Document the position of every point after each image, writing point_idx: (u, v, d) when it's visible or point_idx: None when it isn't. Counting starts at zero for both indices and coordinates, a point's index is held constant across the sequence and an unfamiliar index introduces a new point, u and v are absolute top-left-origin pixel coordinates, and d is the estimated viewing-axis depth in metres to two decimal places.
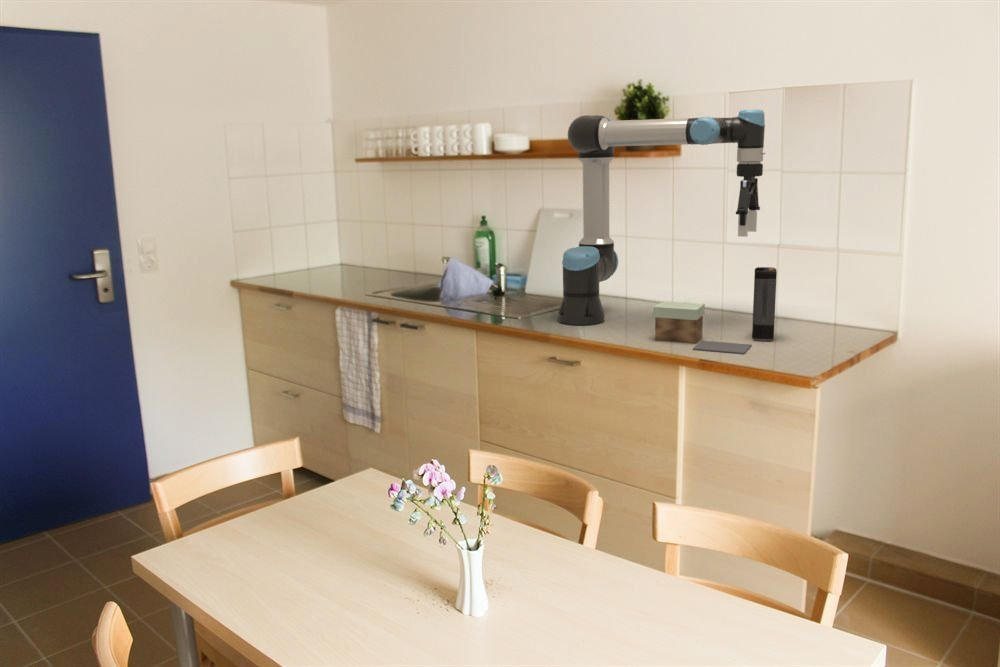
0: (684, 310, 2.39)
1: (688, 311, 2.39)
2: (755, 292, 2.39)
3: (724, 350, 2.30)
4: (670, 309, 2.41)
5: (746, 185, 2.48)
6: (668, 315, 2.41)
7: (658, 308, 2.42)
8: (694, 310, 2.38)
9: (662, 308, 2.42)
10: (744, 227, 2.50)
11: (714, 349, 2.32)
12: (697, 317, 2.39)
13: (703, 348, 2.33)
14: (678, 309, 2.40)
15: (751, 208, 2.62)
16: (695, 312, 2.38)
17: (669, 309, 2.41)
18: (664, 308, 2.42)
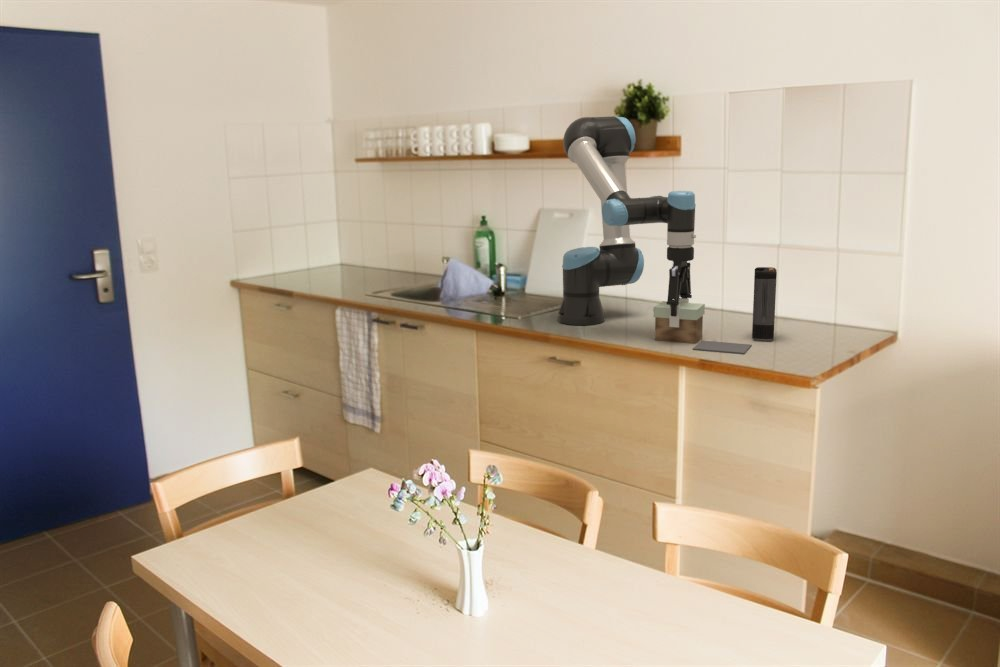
0: (684, 310, 2.39)
1: (688, 311, 2.39)
2: (755, 292, 2.39)
3: (724, 350, 2.30)
4: None
5: (675, 274, 2.36)
6: (668, 315, 2.41)
7: (658, 308, 2.42)
8: (694, 310, 2.38)
9: (662, 308, 2.42)
10: (675, 318, 2.40)
11: (714, 349, 2.32)
12: (697, 317, 2.39)
13: (703, 348, 2.33)
14: None
15: (682, 296, 2.48)
16: (695, 312, 2.38)
17: (669, 309, 2.41)
18: (664, 308, 2.42)
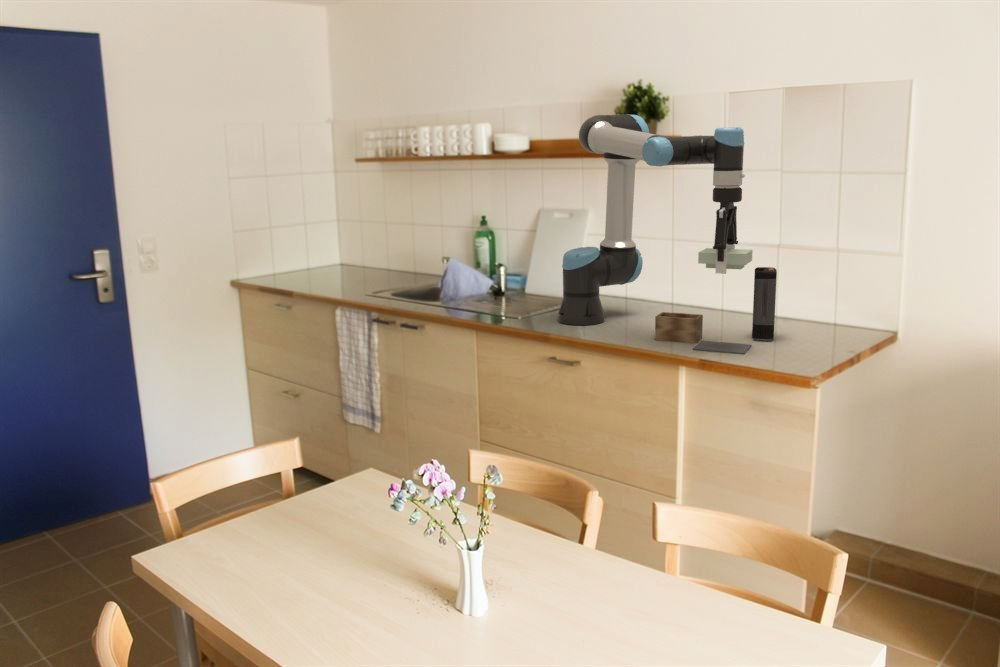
0: (732, 255, 2.24)
1: (736, 256, 2.23)
2: (755, 292, 2.39)
3: (724, 350, 2.30)
4: None
5: (722, 216, 2.20)
6: (714, 261, 2.26)
7: (703, 253, 2.27)
8: (743, 254, 2.22)
9: (708, 253, 2.26)
10: (722, 263, 2.24)
11: (714, 349, 2.32)
12: (746, 262, 2.23)
13: (703, 348, 2.33)
14: None
15: (728, 242, 2.33)
16: (744, 256, 2.22)
17: (715, 254, 2.26)
18: (710, 253, 2.26)
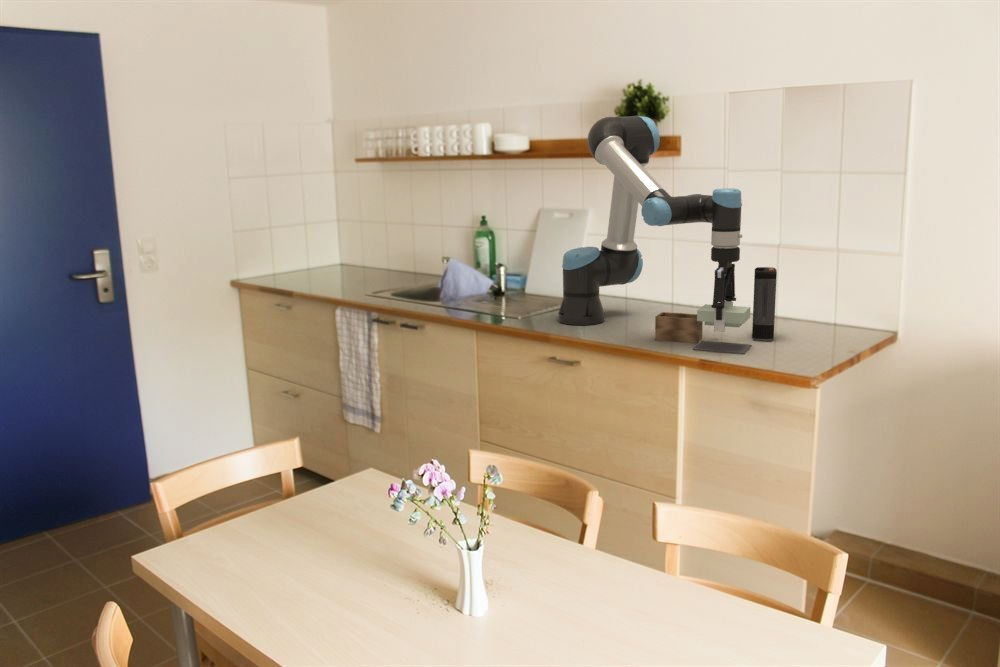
0: (730, 313, 2.27)
1: (734, 315, 2.27)
2: (755, 292, 2.39)
3: (724, 350, 2.30)
4: None
5: (721, 276, 2.24)
6: (713, 319, 2.29)
7: (702, 311, 2.30)
8: (741, 313, 2.26)
9: (706, 311, 2.30)
10: (721, 322, 2.28)
11: (714, 349, 2.32)
12: (744, 321, 2.27)
13: (703, 348, 2.33)
14: None
15: (726, 299, 2.36)
16: (742, 315, 2.26)
17: None
18: (708, 311, 2.30)
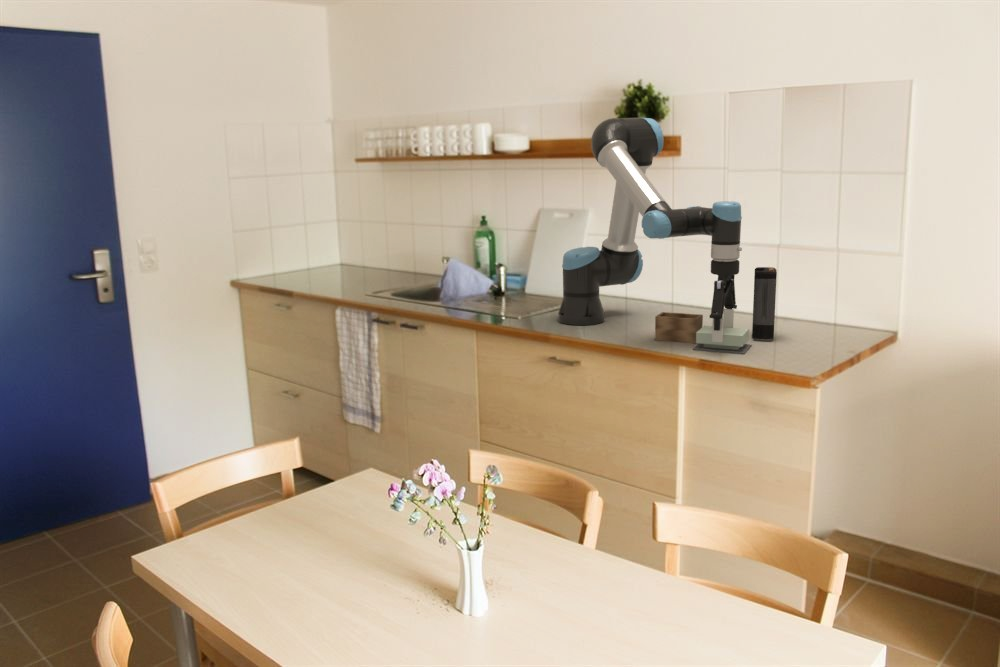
0: (729, 336, 2.29)
1: (733, 337, 2.28)
2: (755, 292, 2.39)
3: (724, 350, 2.30)
4: None
5: (720, 287, 2.25)
6: None
7: (701, 334, 2.32)
8: (739, 336, 2.27)
9: (705, 334, 2.31)
10: (719, 332, 2.27)
11: (714, 349, 2.32)
12: (742, 343, 2.28)
13: (703, 348, 2.33)
14: None
15: (727, 306, 2.38)
16: (741, 338, 2.27)
17: None
18: (707, 334, 2.31)
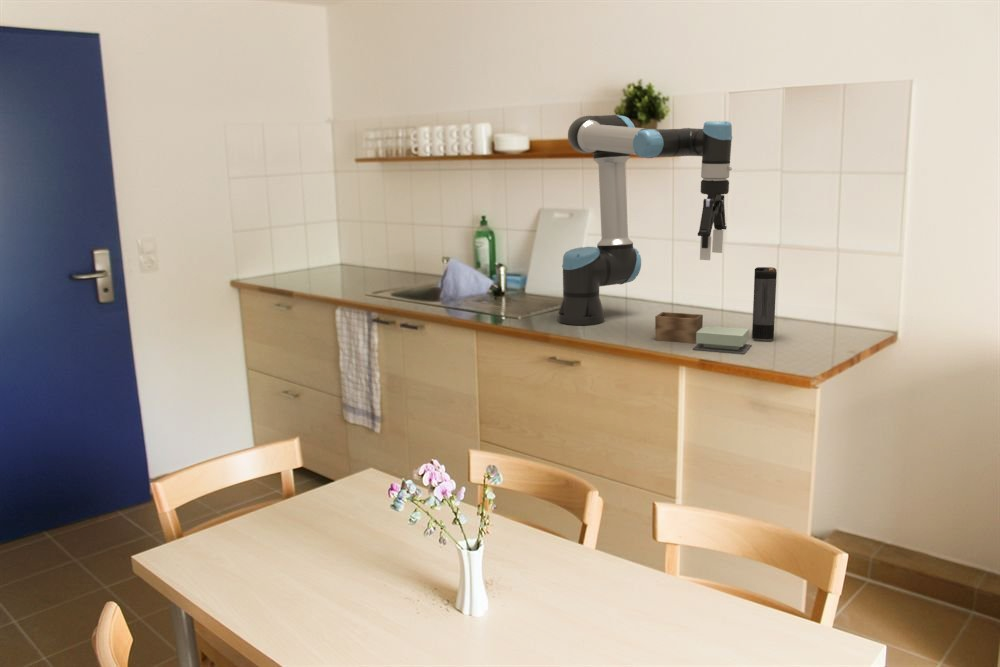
0: (729, 336, 2.29)
1: (733, 337, 2.28)
2: (755, 292, 2.39)
3: (724, 350, 2.30)
4: (714, 335, 2.30)
5: (709, 204, 2.27)
6: (712, 341, 2.31)
7: (701, 334, 2.32)
8: (739, 336, 2.27)
9: (705, 334, 2.31)
10: (707, 250, 2.29)
11: (714, 349, 2.32)
12: (742, 343, 2.28)
13: (703, 348, 2.33)
14: (722, 335, 2.29)
15: (717, 227, 2.41)
16: (741, 338, 2.27)
17: (713, 335, 2.31)
18: (707, 334, 2.31)
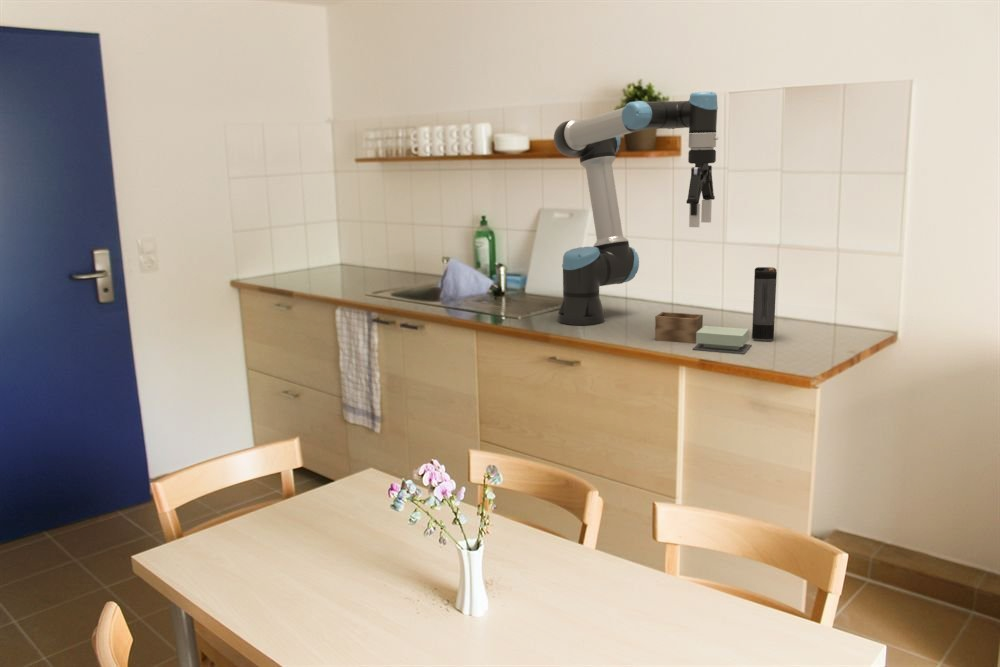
0: (729, 336, 2.29)
1: (733, 337, 2.28)
2: (755, 292, 2.39)
3: (724, 350, 2.30)
4: (714, 335, 2.30)
5: (697, 172, 2.33)
6: (712, 341, 2.31)
7: (701, 334, 2.32)
8: (739, 336, 2.27)
9: (705, 334, 2.31)
10: (695, 217, 2.35)
11: (714, 349, 2.32)
12: (742, 343, 2.28)
13: (703, 348, 2.33)
14: (722, 335, 2.29)
15: (705, 197, 2.47)
16: (741, 338, 2.27)
17: (713, 335, 2.31)
18: (707, 334, 2.31)
